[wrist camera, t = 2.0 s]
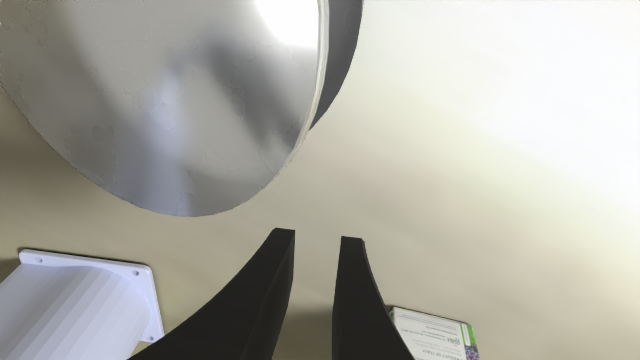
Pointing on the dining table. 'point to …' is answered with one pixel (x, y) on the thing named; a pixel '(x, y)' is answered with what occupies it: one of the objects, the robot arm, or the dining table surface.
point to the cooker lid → (169, 91)
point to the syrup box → (435, 336)
